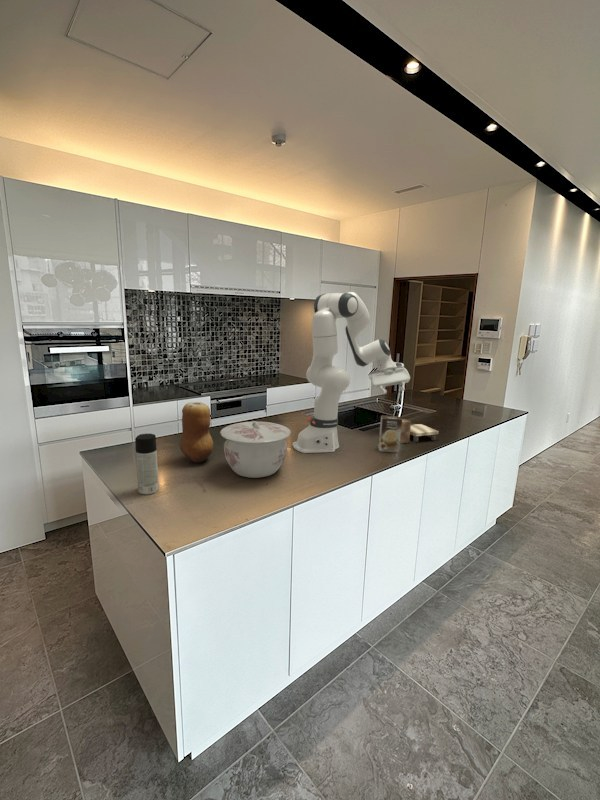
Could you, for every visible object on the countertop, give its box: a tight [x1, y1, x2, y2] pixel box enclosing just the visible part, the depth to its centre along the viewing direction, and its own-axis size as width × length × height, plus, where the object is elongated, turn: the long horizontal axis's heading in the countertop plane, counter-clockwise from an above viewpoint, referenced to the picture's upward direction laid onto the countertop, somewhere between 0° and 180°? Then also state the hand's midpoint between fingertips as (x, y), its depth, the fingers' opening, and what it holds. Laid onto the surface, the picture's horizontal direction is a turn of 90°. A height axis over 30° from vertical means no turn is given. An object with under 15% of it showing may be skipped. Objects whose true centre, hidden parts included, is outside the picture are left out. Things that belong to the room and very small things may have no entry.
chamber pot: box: [219, 420, 292, 479], centre depth 152 cm, size 28×27×21 cm
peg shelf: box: [410, 423, 439, 443], centre depth 202 cm, size 14×14×5 cm
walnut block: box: [400, 418, 412, 444], centre depth 195 cm, size 5×5×11 cm
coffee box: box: [377, 414, 403, 453], centre depth 181 cm, size 9×6×16 cm
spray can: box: [134, 433, 160, 495], centre depth 132 cm, size 7×7×20 cm
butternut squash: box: [179, 401, 214, 464], centre depth 160 cm, size 14×13×25 cm
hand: (394, 391), depth 199 cm, fingers open, 8 cm apart
